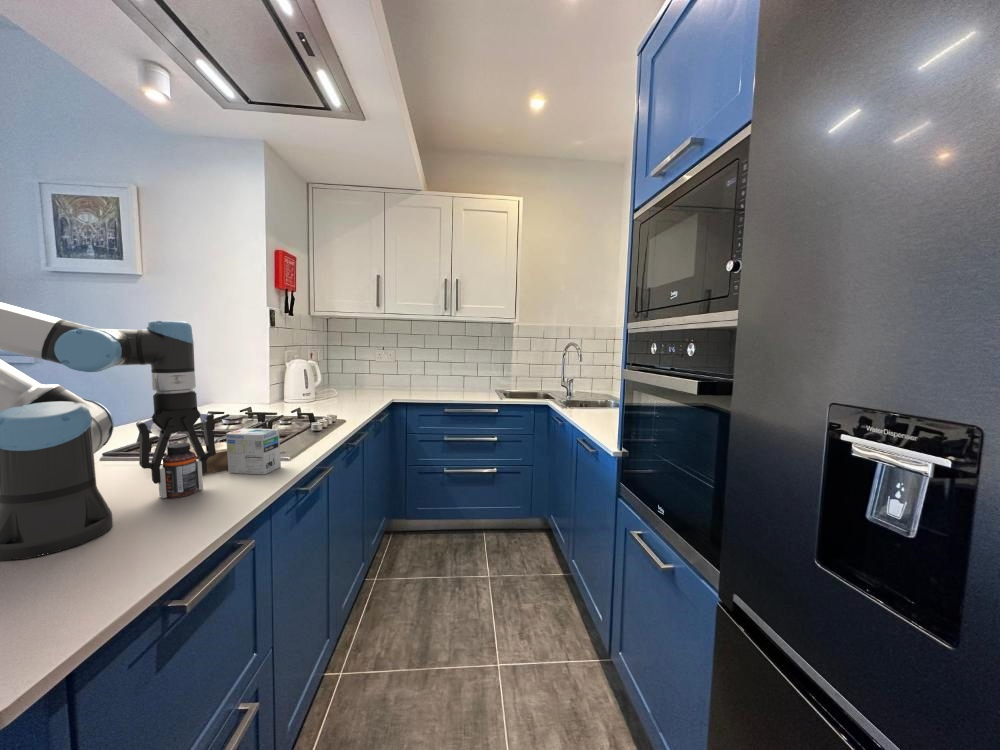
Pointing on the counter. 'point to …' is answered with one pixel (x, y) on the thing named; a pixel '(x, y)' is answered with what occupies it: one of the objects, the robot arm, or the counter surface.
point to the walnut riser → (216, 458)
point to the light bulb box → (253, 451)
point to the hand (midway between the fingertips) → (181, 491)
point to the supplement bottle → (180, 470)
